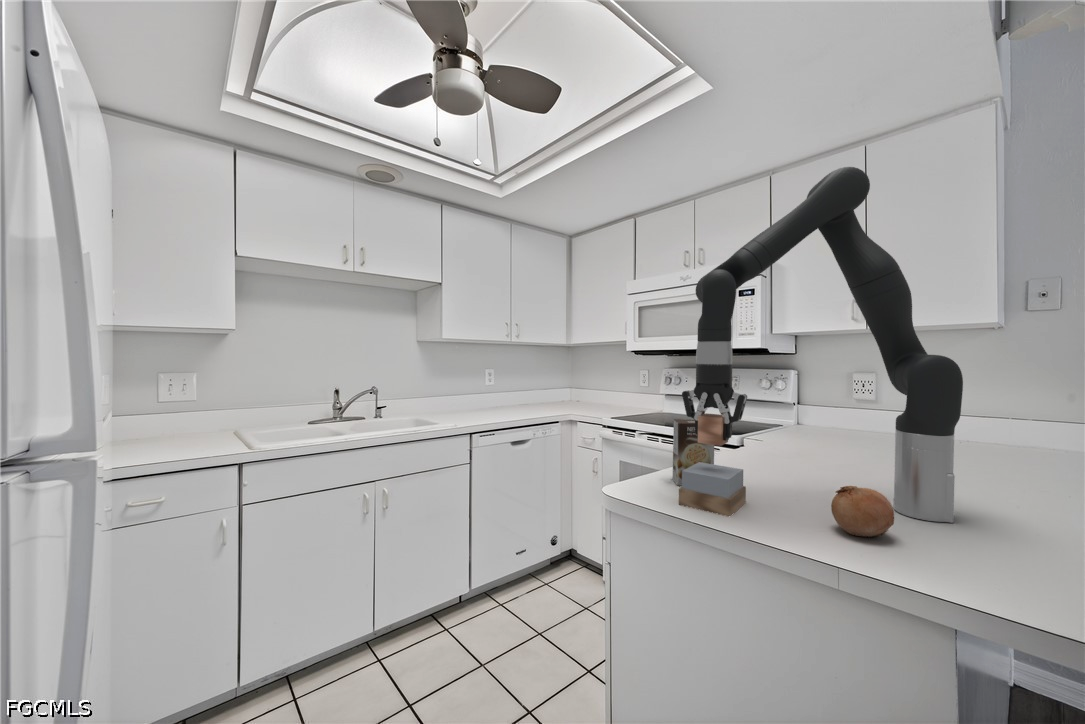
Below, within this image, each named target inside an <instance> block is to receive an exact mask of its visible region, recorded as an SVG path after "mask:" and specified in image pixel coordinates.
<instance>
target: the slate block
mask: <svg viewBox="0 0 1085 724" xmlns="http://www.w3.org/2000/svg"><path fill="white" fill-rule="evenodd" d="M743 486H744V469H743V468H737V467H730V466H725V465H719V464H718V465H717V464H715V463H714V464H708V463H702V462H698V463H696V464H695V465H693V466H691V467H689V468H687V469H685V470H683V471H682V486H681V487H682V489H685V490H690V491H694V492H699V493H704V494H708V495H713V496H718V497H723V498H727V499H729V498H730V497H731V496H733V495H734V494H735V493H736V492H738V491H739V490H740V489H742V488H743Z"/></svg>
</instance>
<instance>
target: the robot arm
mask: <svg viewBox="0 0 1085 724" xmlns="http://www.w3.org/2000/svg"><path fill="white" fill-rule="evenodd" d="M870 190H871V182H870V178H869V176H868V174H867V173H866V172H865V171H863V170H862V169H860V168H858V167H855V166H844V167H839V168H837V169H834V170H832V171H831V172H829V173H828V174H827V175H825V176H824V177H823V178H822V179H821V180H820V181H818V182H817V183H816V184H814V185H813V186H812V188H810V190H809V192H808V193H807V195H806V199H804V201H802V202H801V203H800V204H799V205H797V206H796V207H795V208H794V209H792V210H791V211H790V212H788V213H787V214H786V215H784V216H783V217H782V218H780V219H778V220H777V221H776V222H774V223H773V224H771V225H770V226H769V227H767V228H766V229H765V230H763V231H762V232H761V233H759V234H758V235H756V236H754V238H752V239H751V240H750V241H748V242H747V243H746V244H744V245H743V246H741V247H740V248H739V249H738V250H736V251H735V252H734V253H733V254H732V255H731V256H730V257H729V258H728V259H727V260H725V261H724V262H722V263H720V264H719V265H718V266H716V267H714V269H712V270H711V271H709V272H708V273H706V274H704V275H703V276H702V277H701V278H700V279H699V280H698V281H697V284H696V285H695V296H696V297H697V300H698V301H699V302H701V315H700V317H699V319H698V322H697V344H696V351H695V352H696V353H695V387H694V388H693V389H692V390H683V391H682V392H681V395H682V400H683V405H684V411H685V415H686V417H687V418H692V420H695V433H696V434H697V436H698V416H699V415H702V414H705V413H706V412H707V410H708V408H713V409H718V410H719V415H722V417H723V421H724V424H723V440H725V441H727V440H728V441H729V439H730V438H732V436H733V423H735V422H739V421H740V420H742V417H743V415H744V410H745V407H746V403H747V401H748V395H747V394H746V393H739V392H735V390H734V389H733V347H732V338H733V336H732V333H733V332H732V330H733V329H732V328H733V327H732V319H733V315H734V309H735V305H736V299H737V289H738V288H740V287H741V286H743V285H744V284H745V283H747V282H748V281H751V280H753V279H755V278H756V277H759V276H760V274H762V273H763V272H764V271H766V270H767V269H769V268H770V267H771V266H772V265H774V264H775V263H776V262H778V261H780V259H781V258H782V257H784V256H785V255H786V254H788V253H789V252H790V251H791V250H792V249H793V248H795V247H796V246H798V244H800V243H801V242H802V241H803V240H804V239H805V238H807V237H808V236H811V234H812V233H814V232H815V231H816V230H818V231H819V233H820V234H821V235H822V238H823V239H824V240H825V241H826V243H827V245H828V247H829V248H830V250H831V252H832V254H833V256H834V259H835V261H836V263H837V265H838V267H839V269H840V271H841V273H842V275H843V276H844V279H845V282H846V283H847V285H848V288H849V291H850V293H851V294H852V295H851V296H852V297H853V299H854V301H855V303H856V305H857V306H858V309H859V311H860V312H861V315H862V316H863V318H864V320H865V322H866V324H867V326H868V329H869V330H870V332H871V334H872V335H873V337H874V340H875V342H876V344H877V347H878V349H879V352H880V355H881V358H882V361H883V363H884V367H885V369H886V373H887V376H888V378H889V381H890V384H891V385H892V386H893V387H894V389H895V390H897V392H899V393H900V394H902V395H904V396H906V401H905V402H906V404H905V408H904V411H903V412H902V413H901V414H899V415H897V417H896V418H895V436H894V437H895V442H894V443H895V444H894V480H893V481H894V482H893V483H894V484H893V510H894V511H896V512H897V513H899V514H901V515H903V516H906V517H909V518H914V519H918V520H923V521H929V522H938V523H939V522H940V523H942V522H943V523H950V524H954V520H955V519H954V517H955V515H954V513H955V477H956V475H955V473H954V464H955V463H954V462H955V461H954V459H955V458H954V457H955V430H956V429H955V428H956V426H957V424H959V423H958V422H959V421H960V418H961V413H962V401H963V391H964V389H963V388H964V380H963V379H964V378H963V372H962V369H961V367H960V366H959V365H958V363H957V362H955V361H954V359H952V358H951V357H948V356H944V355H940V354H928V352H927V351H926V349H925V347H924V346H923V344H922V343H921V341H920V339H919V337H918V335H917V332H916V330H915V327H914V323H913V300H912V293H911V288H910V286H909V284H908V282H907V279H906V277H905V275H904V273H903V272H902V269H901V267H900V265H899V263H898V262H897V261H896V259H895V258H894V257H893V256H892V255H891V254H890V253H889V252H888V251H886V250H885V249H884V248H883V247H881V246H880V245H879V244H878V243H876V242H875V241H874V240H873V239H871V237H869V236H868V235H867V233H866V232H865V230H864V229H863V227H862V226H861V224H860V222H859V220H858V217H857V216H856V212H855V210H856V209H858V208H859V207H860V205H862V204H863V202H864V201H865V200H866V199H867V197H868V195H869V192H870ZM695 397H696V398H697V400H698V401H699V402H698V404H697V407H696V408H695V404H694V400H693V399H694V398H695ZM732 398H733V399H734V400H733V401H734V403H735V407H734V412H733V415H732V413H731V407H730V405H729V402H730V400H732Z"/></svg>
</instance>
